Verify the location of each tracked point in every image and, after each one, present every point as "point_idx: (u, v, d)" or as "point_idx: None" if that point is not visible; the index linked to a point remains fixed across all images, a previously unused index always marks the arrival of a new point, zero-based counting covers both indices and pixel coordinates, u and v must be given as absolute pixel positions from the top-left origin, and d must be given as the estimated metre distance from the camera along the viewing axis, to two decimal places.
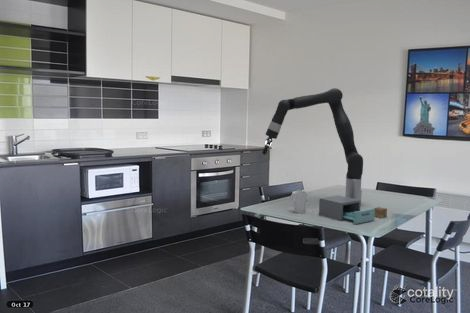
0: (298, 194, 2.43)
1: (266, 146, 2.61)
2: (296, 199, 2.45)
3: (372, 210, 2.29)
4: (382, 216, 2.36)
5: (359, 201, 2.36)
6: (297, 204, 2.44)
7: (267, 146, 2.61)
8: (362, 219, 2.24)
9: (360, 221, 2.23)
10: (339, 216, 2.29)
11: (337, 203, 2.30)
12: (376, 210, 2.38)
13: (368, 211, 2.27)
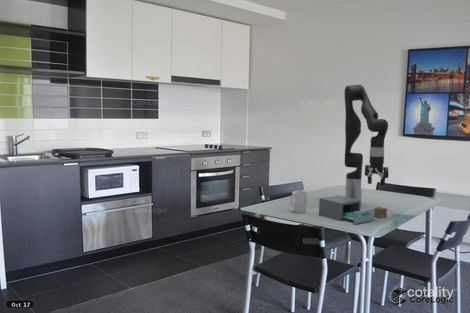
0: (298, 194, 2.43)
1: (386, 176, 2.28)
2: (296, 199, 2.45)
3: (372, 210, 2.29)
4: (382, 216, 2.36)
5: (359, 201, 2.36)
6: (297, 204, 2.44)
7: (386, 176, 2.28)
8: (362, 219, 2.24)
9: (360, 221, 2.23)
10: (339, 216, 2.29)
11: (337, 203, 2.30)
12: (376, 210, 2.38)
13: (368, 211, 2.27)
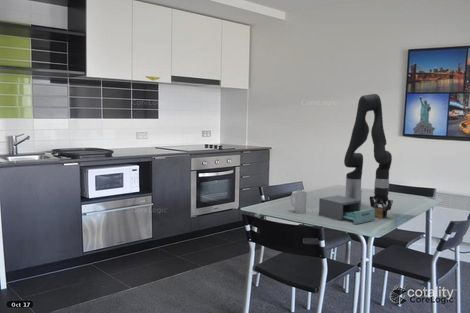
0: (298, 194, 2.43)
1: (388, 208, 2.34)
2: (296, 199, 2.45)
3: (372, 210, 2.29)
4: (382, 216, 2.36)
5: (359, 201, 2.36)
6: (297, 204, 2.44)
7: (389, 208, 2.34)
8: (362, 219, 2.24)
9: (360, 221, 2.23)
10: (339, 216, 2.29)
11: (337, 203, 2.30)
12: (376, 210, 2.38)
13: (368, 211, 2.27)
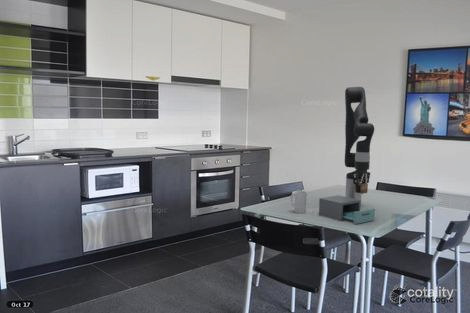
0: (298, 194, 2.43)
1: (354, 182, 2.25)
2: (296, 199, 2.45)
3: (372, 210, 2.29)
4: None
5: (359, 201, 2.36)
6: (297, 204, 2.44)
7: (356, 182, 2.25)
8: (362, 219, 2.24)
9: (360, 221, 2.23)
10: (339, 216, 2.29)
11: (337, 203, 2.30)
12: None
13: (368, 211, 2.27)
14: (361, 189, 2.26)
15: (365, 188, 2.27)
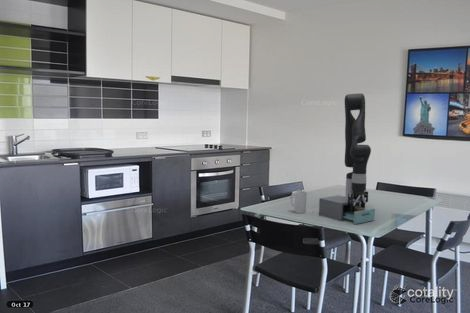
0: (298, 194, 2.43)
1: (348, 202, 2.25)
2: (296, 199, 2.45)
3: (372, 210, 2.29)
4: (352, 214, 2.29)
5: (359, 201, 2.36)
6: (297, 204, 2.44)
7: (350, 202, 2.25)
8: (362, 219, 2.24)
9: (360, 221, 2.23)
10: (339, 216, 2.29)
11: (337, 203, 2.30)
12: None
13: (368, 211, 2.27)
14: None
15: None
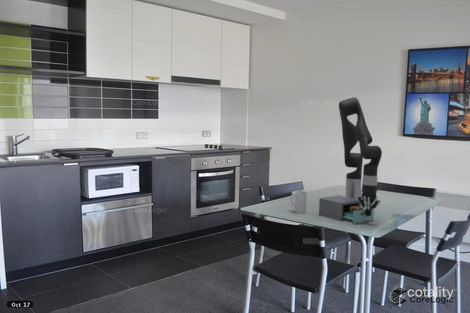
0: (298, 194, 2.43)
1: None
2: (296, 199, 2.45)
3: None
4: (351, 214, 2.30)
5: (359, 201, 2.36)
6: (297, 204, 2.44)
7: None
8: (361, 219, 2.25)
9: (359, 221, 2.24)
10: (339, 216, 2.29)
11: (337, 203, 2.30)
12: None
13: None
14: None
15: None
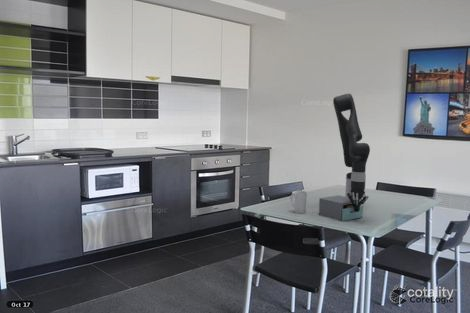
0: (298, 194, 2.43)
1: None
2: (296, 199, 2.45)
3: (360, 207, 2.35)
4: None
5: None
6: (297, 204, 2.44)
7: None
8: (350, 216, 2.30)
9: (348, 218, 2.30)
10: (339, 216, 2.29)
11: (337, 203, 2.30)
12: None
13: None
14: None
15: None
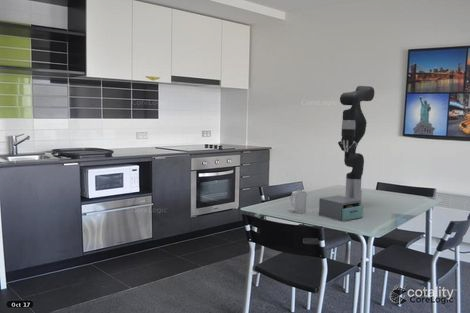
0: (298, 194, 2.43)
1: (351, 149, 2.39)
2: (296, 199, 2.45)
3: (360, 207, 2.35)
4: None
5: (359, 201, 2.36)
6: (297, 204, 2.44)
7: (351, 149, 2.39)
8: (350, 216, 2.30)
9: (348, 218, 2.30)
10: (339, 216, 2.29)
11: (337, 203, 2.30)
12: None
13: (356, 208, 2.33)
14: None
15: None
